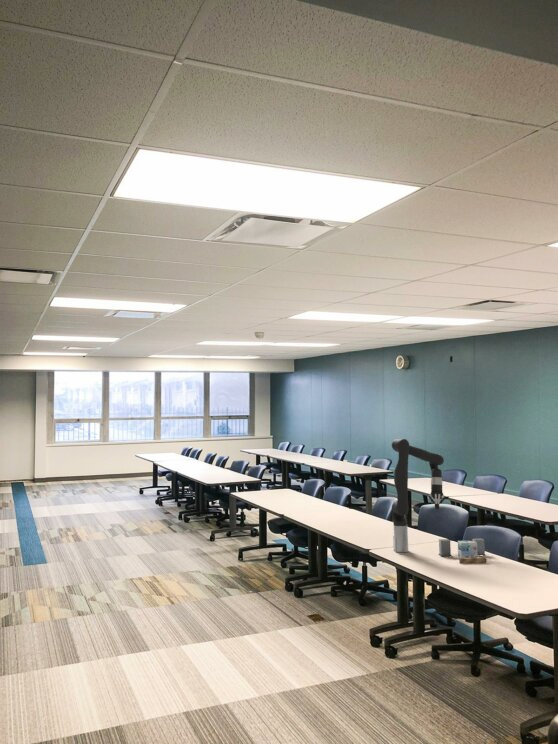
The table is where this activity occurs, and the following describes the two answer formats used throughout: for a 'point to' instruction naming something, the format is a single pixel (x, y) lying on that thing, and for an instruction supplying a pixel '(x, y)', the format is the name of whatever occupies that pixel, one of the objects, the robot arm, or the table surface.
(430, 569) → the table surface
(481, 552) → the block
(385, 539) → the table surface
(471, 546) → the light bulb box
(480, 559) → the walnut stop
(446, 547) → the block
